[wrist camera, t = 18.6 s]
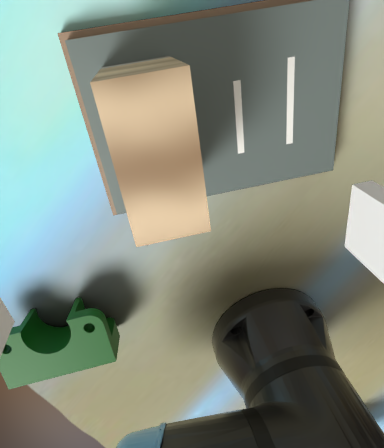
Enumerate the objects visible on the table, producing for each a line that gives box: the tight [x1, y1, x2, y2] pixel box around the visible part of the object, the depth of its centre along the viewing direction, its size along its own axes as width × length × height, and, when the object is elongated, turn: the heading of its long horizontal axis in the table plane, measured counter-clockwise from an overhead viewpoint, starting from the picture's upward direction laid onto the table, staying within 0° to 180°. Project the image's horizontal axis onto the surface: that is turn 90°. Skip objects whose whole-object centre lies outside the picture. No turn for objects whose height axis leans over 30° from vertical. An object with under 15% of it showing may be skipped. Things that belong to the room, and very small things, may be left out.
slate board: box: [58, 0, 349, 215], centre depth 28 cm, size 15×22×2 cm
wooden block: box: [90, 56, 211, 247], centre depth 22 cm, size 10×5×9 cm, turn 8°
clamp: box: [0, 297, 120, 389], centre depth 35 cm, size 12×6×9 cm, turn 93°
